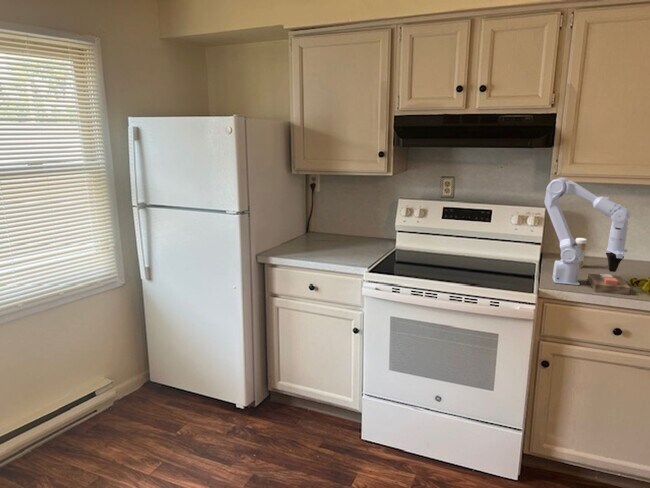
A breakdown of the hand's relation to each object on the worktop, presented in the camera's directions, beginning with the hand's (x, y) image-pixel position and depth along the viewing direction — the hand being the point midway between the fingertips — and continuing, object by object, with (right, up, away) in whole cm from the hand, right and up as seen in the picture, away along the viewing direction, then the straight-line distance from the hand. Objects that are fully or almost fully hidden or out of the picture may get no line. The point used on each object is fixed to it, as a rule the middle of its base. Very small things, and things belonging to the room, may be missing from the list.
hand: (612, 271), depth 193 cm
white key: (+2, -5, +9) cm, 10 cm away
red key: (0, -6, +1) cm, 6 cm away
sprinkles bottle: (+3, 0, +33) cm, 33 cm away
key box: (+1, -7, +5) cm, 8 cm away
